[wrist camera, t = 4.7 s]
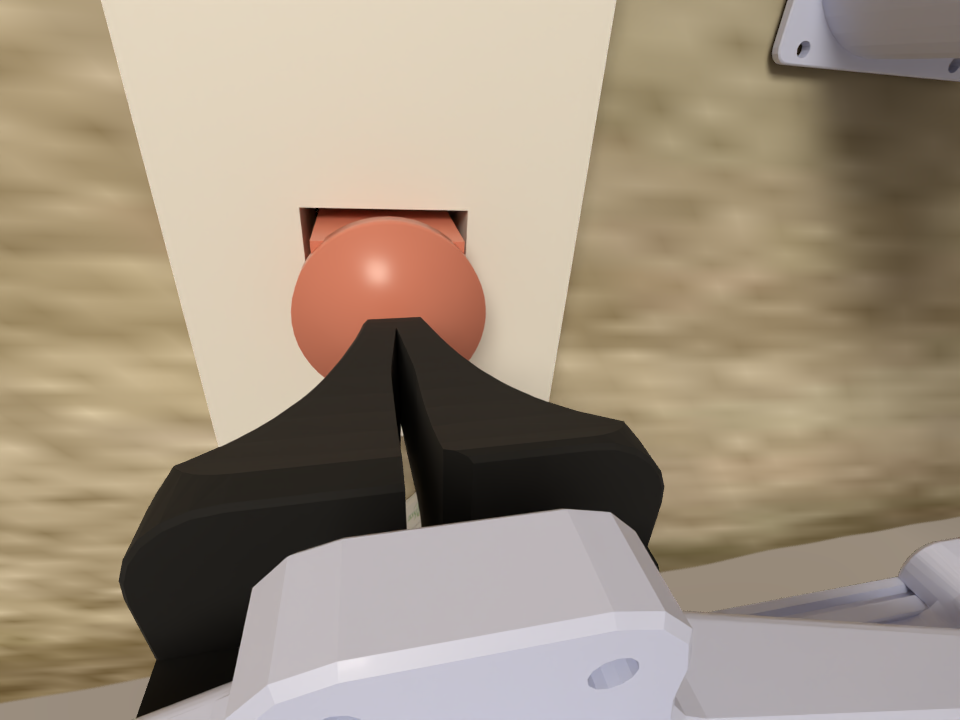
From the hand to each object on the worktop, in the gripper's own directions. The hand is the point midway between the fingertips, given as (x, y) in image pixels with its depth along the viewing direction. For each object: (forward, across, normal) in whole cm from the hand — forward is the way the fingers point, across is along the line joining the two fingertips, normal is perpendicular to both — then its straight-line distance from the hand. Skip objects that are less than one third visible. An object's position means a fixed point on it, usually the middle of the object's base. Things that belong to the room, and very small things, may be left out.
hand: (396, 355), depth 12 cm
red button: (+7, 0, 0) cm, 7 cm away
